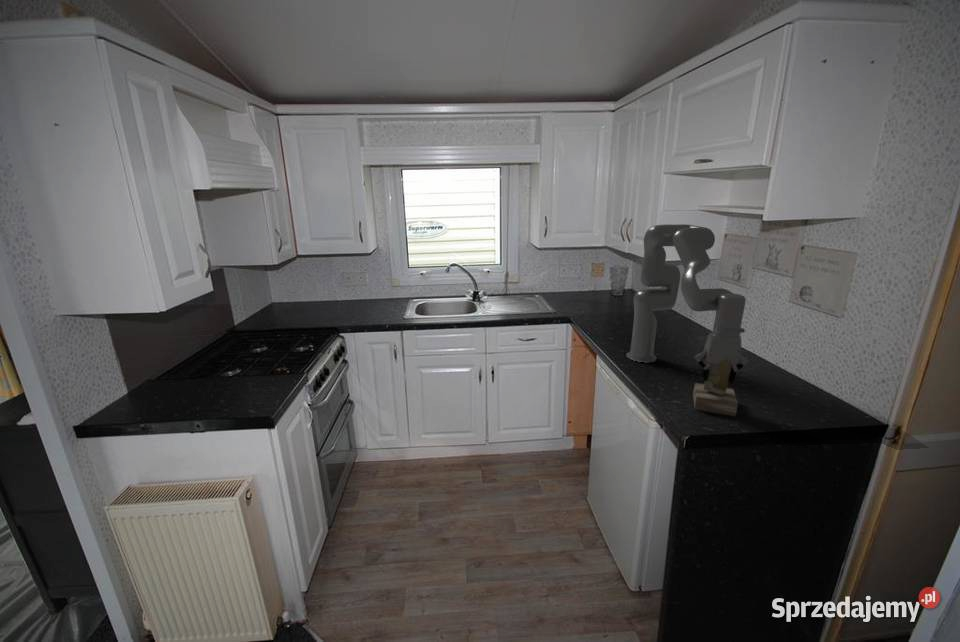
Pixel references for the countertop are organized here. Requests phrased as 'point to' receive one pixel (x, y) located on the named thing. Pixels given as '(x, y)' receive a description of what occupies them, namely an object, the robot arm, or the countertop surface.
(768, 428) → the countertop surface
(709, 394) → the birch block
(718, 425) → the countertop surface
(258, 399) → the countertop surface
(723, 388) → the skincare box
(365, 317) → the countertop surface
